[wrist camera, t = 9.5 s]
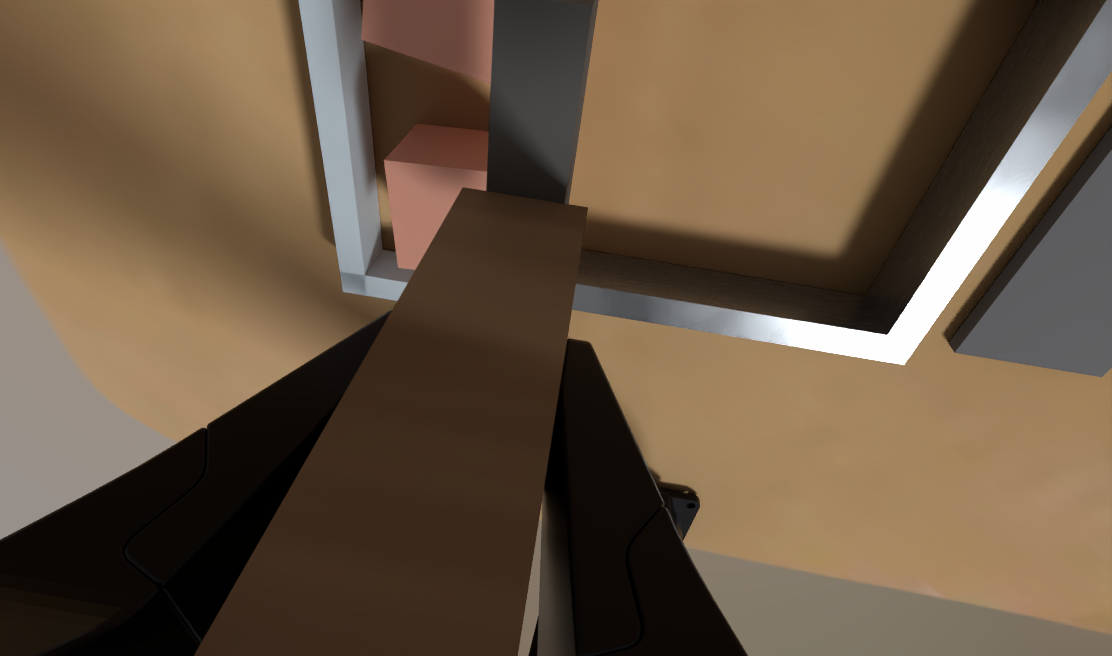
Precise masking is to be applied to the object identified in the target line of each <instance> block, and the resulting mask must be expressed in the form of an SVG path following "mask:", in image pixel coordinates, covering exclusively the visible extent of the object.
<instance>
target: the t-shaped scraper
mask: <svg viewBox="0 0 1112 656" xmlns="http://www.w3.org/2000/svg"><path fill="white" fill-rule="evenodd" d="M597 7H598V0H494V20H493V44H492V67H491V90H490V114H489V137H488V160H487V184H486V191H484V190H478V189H471V188H465V187H463V188H462V189H461V191H460V193H459V195H458V196H457V198H456V200H455V202H454V203H453V205H452V207H451V209H450V210H449V212H448V214H447V216H446V217H445V219H444V221H443V222H442V224H441V226H440V228H439V229H438V231H437V233H436V235H435V236H434V238H433V240H432V242H431V243H430V245H429V247H428V249H427V250H426V252H425V254H424V256H423V257H422V259H421V261H420V263H419V264H418V266H417V268H416V270H415V271H414V273H413V275H412V276H411V278H410V280H409V282H408V283H407V285H406V287H405V289H404V290H403V292H402V294H401V296H400V297H399V299H398V301H397V303H396V304H395V306H394V308H393V310H392V311H391V313H390V315H389V317H388V318H387V320H386V322H385V324H384V325H383V327H382V329H381V331H380V332H379V334H378V336H377V337H376V339H375V341H374V343H373V344H372V346H371V348H370V350H369V351H368V353H367V355H366V357H365V358H364V360H363V362H362V364H361V365H360V367H359V369H358V371H357V372H356V374H355V376H354V378H353V379H352V381H351V383H350V385H349V386H348V388H347V390H346V392H345V393H344V395H343V397H342V398H341V400H340V402H339V404H338V405H337V407H336V409H335V411H334V412H333V414H332V416H331V418H330V419H329V421H328V423H327V425H326V426H325V428H324V430H323V432H322V433H321V435H320V437H319V439H318V440H317V442H316V444H315V446H314V447H313V449H312V451H311V453H310V454H309V456H308V458H307V459H306V461H305V463H304V465H303V466H302V468H301V470H300V472H299V473H298V475H297V477H296V479H295V480H294V482H293V484H292V486H291V487H290V489H289V491H288V493H287V494H286V496H285V498H284V500H283V501H282V503H281V505H280V507H279V508H278V510H277V512H276V514H275V515H274V517H273V519H272V520H271V522H270V524H269V526H268V527H267V529H266V531H265V533H264V534H263V536H262V538H261V540H260V541H259V543H258V545H257V547H256V548H255V550H254V552H253V554H252V555H251V557H250V559H249V561H248V562H247V564H246V566H245V568H244V569H243V571H242V573H241V574H240V576H239V578H238V580H237V581H236V583H235V585H234V587H233V588H232V590H231V592H230V594H229V595H228V597H227V599H226V601H225V602H224V604H223V606H222V608H221V609H220V611H219V613H218V615H217V616H216V618H215V620H214V622H213V623H212V625H211V627H210V629H209V630H208V632H207V634H206V635H205V637H204V639H203V641H202V642H201V644H200V646H199V648H198V649H197V651H196V653H195V655H194V656H518V650H519V643H520V637H521V631H522V624H523V618H524V611H525V605H526V599H527V592H528V585H529V580H530V573H531V567H532V560H533V554H534V548H535V541H536V535H537V528H538V522H539V516H540V510H541V503H542V497H543V490H544V484H545V478H546V471H547V465H548V458H549V452H550V446H551V439H552V433H553V427H554V420H555V414H556V407H557V401H558V395H559V388H560V382H561V376H562V369H563V363H564V356H565V350H566V344H567V337H568V331H569V324H570V318H571V312H572V305H573V299H574V293H575V286H576V280H577V273H578V267H579V261H580V254H581V248H582V242H583V235H584V229H585V222H586V216H587V210H588V208H587V207H581V206H575V205H569V197H570V190H571V184H572V177H573V170H574V163H575V156H576V150H577V143H578V136H579V129H580V122H581V116H582V109H583V102H584V95H585V88H586V82H587V75H588V68H589V61H590V54H591V47H592V41H593V34H594V27H595V20H596V13H597Z"/></svg>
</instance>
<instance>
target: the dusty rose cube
mask: <svg viewBox="0 0 1112 656" xmlns="http://www.w3.org/2000/svg"><path fill="white" fill-rule="evenodd" d="M493 20H494V0H363V14H362V32H361V40H364V41H367V42H370V43H373V44H375V45H378V46H381V47H384V48H387V49H390V50H393V51H396V52H399V53H402V54H405V55H408V56H411V57H414V58H416V59H419V60H422V61H425V62H428V63H431V64H434V65H437V66H440V67H443V68H446V69H449V70H452V71H455V72H457V73H460V74H463V75H466V76H469V77H472V78H475V79H478V80H481V81H484V82H487V83H490V84H491V67H492V44H493Z"/></svg>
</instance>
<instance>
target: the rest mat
mask: <svg viewBox="0 0 1112 656" xmlns="http://www.w3.org/2000/svg"><path fill="white" fill-rule="evenodd" d="M949 345H950V346H951V348H952V349H953V351H954V352H955V353H960V354H966V355H972V356H978V357H984V358H990V359H996V360H1002V361H1008V362H1014V363H1020V364H1026V365H1032V366H1038V367H1044V368H1050V369H1056V370H1062V371H1068V372H1074V373H1080V374H1086V375H1092V376H1098V377H1102V376H1103V375H1104V374H1106V373H1107V372H1108V371H1109V370H1110V369H1111V368H1112V126H1111V128H1110V129H1109V130H1108V132H1107V133H1106V134H1105V136H1104V137H1103V138H1102V140H1101V141H1100V142H1099V144H1098V145H1097V146H1096V148H1095V149H1094V150H1093V152H1092V153H1091V154H1090V156H1089V157H1088V158H1087V160H1086V161H1085V162H1084V164H1083V165H1082V166H1081V168H1080V169H1079V170H1078V172H1077V173H1076V174H1075V176H1074V177H1073V178H1072V180H1071V181H1070V182H1069V184H1068V185H1067V186H1066V188H1065V189H1064V190H1063V192H1062V193H1061V194H1060V195H1059V197H1058V198H1057V199H1056V201H1055V202H1054V203H1053V205H1052V206H1051V207H1050V209H1049V210H1048V211H1047V213H1046V214H1045V215H1044V217H1043V218H1042V219H1041V221H1040V222H1039V223H1038V225H1037V226H1036V227H1035V229H1034V230H1033V231H1032V233H1031V234H1030V235H1029V237H1028V238H1027V239H1026V241H1025V242H1024V243H1023V245H1022V246H1021V247H1020V249H1019V250H1018V251H1017V253H1016V254H1015V255H1014V257H1013V258H1012V259H1011V261H1010V262H1009V263H1008V265H1007V266H1006V267H1005V269H1004V270H1003V271H1002V273H1001V274H1000V275H999V277H998V278H997V279H996V281H995V282H994V283H993V285H992V286H991V287H990V289H989V290H988V291H987V293H986V294H985V295H984V297H983V298H982V299H981V301H980V302H979V303H978V305H977V306H976V307H975V309H974V310H973V311H972V312H971V314H970V315H969V316H968V318H967V319H966V320H965V322H964V323H963V324H962V326H961V327H960V328H959V330H958V331H957V332H956V334H955V335H954V336H953V338H952V339H951V340H950V342H949Z"/></svg>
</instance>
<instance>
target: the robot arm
mask: <svg viewBox="0 0 1112 656" xmlns="http://www.w3.org/2000/svg"><path fill="white" fill-rule="evenodd" d="M391 311H392V310H391ZM391 311H389V312H387V313H385V314H384V315H382V316H381V317H379V318H377V319H376V320H374V321H373V322H371V323H369V324H368V325H366V326H365V327H363V328H361V329H360V330H358V331H357V332H355V333H353V334H352V335H350V336H349V337H347V338H345V339H344V340H342V341H341V342H339V343H337V344H336V345H334V346H332V347H331V348H329V349H328V350H326V351H324V352H323V353H321V354H320V355H318V356H316V357H315V358H313V359H312V360H310V361H308V362H307V363H305V364H304V365H302V366H300V367H299V368H297V369H296V370H294V371H292V372H291V373H289V374H288V375H286V376H284V377H283V378H281V379H280V380H278V381H276V382H275V383H273V384H271V385H270V386H268V387H267V388H265V389H263V390H262V391H260V392H259V393H257V394H255V395H254V396H252V397H251V398H249V399H247V400H246V401H244V402H243V403H241V404H239V405H238V406H236V407H235V408H233V409H231V410H230V411H228V412H227V413H225V414H223V415H222V416H220V417H219V418H217V419H215V420H214V421H212V422H211V423H209V424H208V425H207V429H206V428H201V429H199V430H197V431H196V432H194V433H192V434H191V435H189V436H188V437H186V438H184V439H183V440H181V441H180V442H178V443H177V444H175V445H173V446H171V447H170V448H168V449H166V450H165V451H163V452H161V453H160V454H158V455H156V456H155V457H153V458H151V459H150V460H148V461H146V462H145V463H143V464H141V465H139V466H138V467H136V468H134V469H132V470H130V471H129V472H127V473H125V474H123V475H121V476H120V477H118V478H116V479H114V480H112V481H110V482H109V483H107V484H105V485H103V486H101V487H99V488H98V489H96V490H94V491H92V492H90V493H88V494H86V495H85V496H83V497H81V498H79V499H77V500H75V501H73V502H71V503H70V504H67V505H65V506H64V507H62V508H60V509H58V510H56V511H54V512H52V513H51V514H49V515H46V516H45V517H43V518H41V519H39V520H37V521H35V522H33V523H31V524H29V525H28V526H26V527H24V528H22V529H20V530H18V531H16V532H14V533H12V534H10V535H8V536H7V537H5V538H3V539H1V540H0V656H194V655H195V653H196V651H197V649H198V648H199V646H200V644H201V642H202V641H203V639H204V637H205V635H206V634H207V632H208V630H209V629H210V627H211V625H212V623H213V622H214V620H215V618H216V616H217V615H218V613H219V611H220V609H221V608H222V606H223V604H224V602H225V601H226V599H227V597H228V595H229V594H230V592H231V590H232V588H233V587H234V585H235V583H236V581H237V580H238V578H239V576H240V574H241V573H242V571H243V569H244V568H245V566H246V564H247V562H248V561H249V559H250V557H251V555H252V554H253V552H254V550H255V548H256V547H257V545H258V543H259V541H260V540H261V538H262V536H263V534H264V533H265V531H266V529H267V527H268V526H269V524H270V522H271V520H272V519H273V517H274V515H275V514H276V512H277V510H278V508H279V507H280V505H281V503H282V501H283V500H284V498H285V496H286V494H287V493H288V491H289V489H290V487H291V486H292V484H293V482H294V480H295V479H296V477H297V475H298V473H299V472H300V470H301V468H302V466H303V465H304V463H305V461H306V459H307V458H308V456H309V454H310V453H311V451H312V449H313V447H314V446H315V444H316V442H317V440H318V439H319V437H320V435H321V433H322V432H323V430H324V428H325V426H326V425H327V423H328V421H329V419H330V418H331V416H332V414H333V412H334V411H335V409H336V407H337V405H338V404H339V402H340V400H341V398H342V397H343V395H344V393H345V392H346V390H347V388H348V386H349V385H350V383H351V381H352V379H353V378H354V376H355V374H356V372H357V371H358V369H359V367H360V365H361V364H362V362H363V360H364V358H365V357H366V355H367V353H368V351H369V350H370V348H371V346H372V344H373V343H374V341H375V339H376V337H377V336H378V334H379V332H380V331H381V329H382V327H383V325H384V324H385V322H386V320H387V318H388V317H389V315H390V313H391ZM699 508H700V500H699V498H698V497H697V496H696V495H692V494H686V493H680V492H675V491H669V490H663V489H658V488H657V486H656V484H655V482H654V480H653V477H652V475H651V473H650V471H649V469H648V466H647V464H646V462H645V460H644V458H643V456H642V453H641V451H640V449H639V447H638V445H637V443H636V440H635V438H634V436H633V434H632V432H631V429H630V427H629V425H628V423H627V421H626V419H625V416H624V414H623V412H622V410H621V408H620V405H619V403H618V401H617V399H616V397H615V395H614V392H613V390H612V388H611V386H610V384H609V382H608V379H607V377H606V375H605V373H604V371H603V368H602V366H601V364H600V362H599V360H598V358H597V355H596V353H595V351H594V349H593V347H592V345H591V343H589V342H587V341H582V340H576V339H567V344H566V350H565V356H564V363H563V369H562V376H561V382H560V388H559V395H558V401H557V407H556V414H555V420H554V427H553V433H552V439H551V446H550V452H549V458H548V465H547V471H546V478H545V484H544V490H543V501H542V531H541V562H540V590H539V591H540V592H539V616H538V619H537V624H536V628H535V632H534V636H533V640H532V644H531V648H530V652H529V656H748V655H747V653H746V651H745V650H744V648H743V646H742V645H741V643H740V641H739V640H738V638H737V637H736V635H735V633H734V632H733V630H732V628H731V627H730V625H729V623H728V622H727V620H726V618H725V617H724V615H723V613H722V612H721V610H720V609H719V607H718V605H717V604H716V602H715V600H714V598H713V597H712V595H711V593H710V591H709V590H708V588H707V586H706V584H705V583H704V581H703V579H702V577H701V576H700V574H699V572H698V570H697V569H696V567H695V565H694V563H693V561H692V559H691V557H690V555H689V553H688V551H687V549H686V547H685V545H684V543H683V540H684V538H685V536H686V534H687V532H688V530H689V528H690V526H691V524H692V522H693V520H694V518H695V516H696V514H697V512H698V510H699Z"/></svg>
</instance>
